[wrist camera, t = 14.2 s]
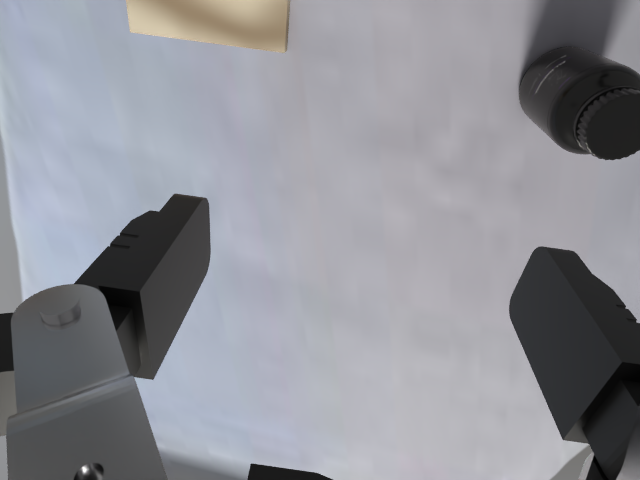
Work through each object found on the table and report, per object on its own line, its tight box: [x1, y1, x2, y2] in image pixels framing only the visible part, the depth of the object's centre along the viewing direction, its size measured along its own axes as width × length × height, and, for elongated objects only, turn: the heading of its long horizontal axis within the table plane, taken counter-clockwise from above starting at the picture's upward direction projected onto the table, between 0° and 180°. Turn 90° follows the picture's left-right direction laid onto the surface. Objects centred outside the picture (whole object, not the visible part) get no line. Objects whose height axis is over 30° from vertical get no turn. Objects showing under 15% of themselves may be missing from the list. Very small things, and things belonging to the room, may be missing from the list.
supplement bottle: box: [519, 47, 640, 160], centre depth 34 cm, size 7×7×12 cm
